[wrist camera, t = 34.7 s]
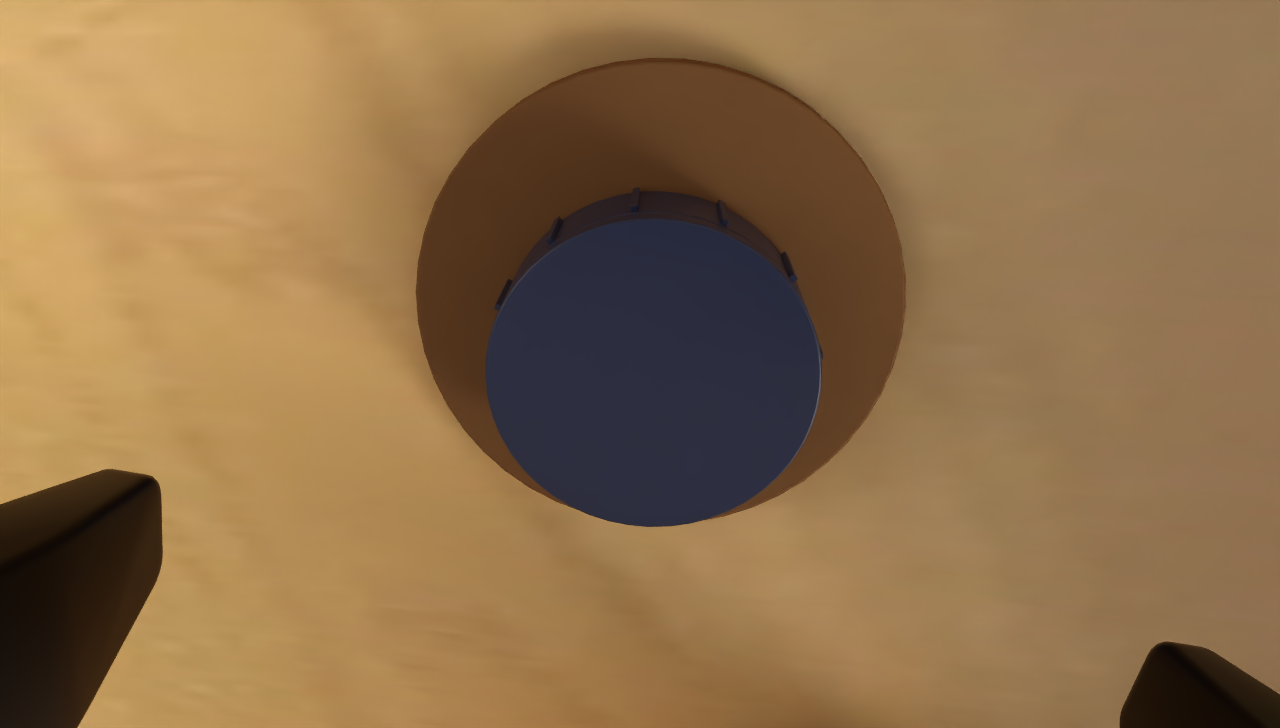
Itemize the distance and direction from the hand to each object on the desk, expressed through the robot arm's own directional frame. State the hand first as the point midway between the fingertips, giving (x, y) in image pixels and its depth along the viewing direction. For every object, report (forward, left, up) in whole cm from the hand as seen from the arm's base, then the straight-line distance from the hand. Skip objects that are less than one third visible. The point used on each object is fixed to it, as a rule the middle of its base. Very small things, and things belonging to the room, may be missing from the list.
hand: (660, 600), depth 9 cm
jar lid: (-1, 0, -6) cm, 6 cm away
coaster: (0, 0, -8) cm, 8 cm away
